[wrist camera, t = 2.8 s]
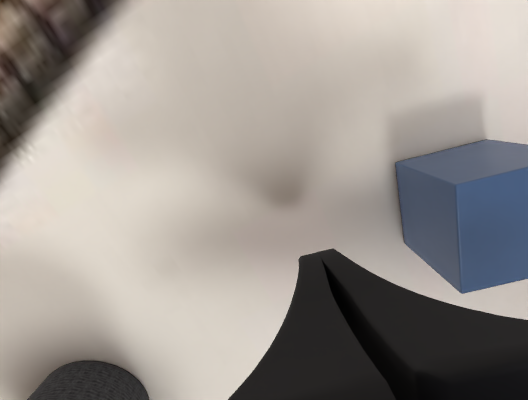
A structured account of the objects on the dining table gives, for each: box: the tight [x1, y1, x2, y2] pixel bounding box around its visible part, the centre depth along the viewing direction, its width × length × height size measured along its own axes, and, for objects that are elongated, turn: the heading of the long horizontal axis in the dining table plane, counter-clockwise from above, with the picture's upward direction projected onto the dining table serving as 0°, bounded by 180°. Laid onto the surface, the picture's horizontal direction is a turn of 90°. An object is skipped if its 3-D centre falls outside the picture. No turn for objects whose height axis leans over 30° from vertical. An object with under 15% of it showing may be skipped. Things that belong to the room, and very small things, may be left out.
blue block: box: [395, 140, 528, 294], centre depth 13 cm, size 4×4×4 cm
